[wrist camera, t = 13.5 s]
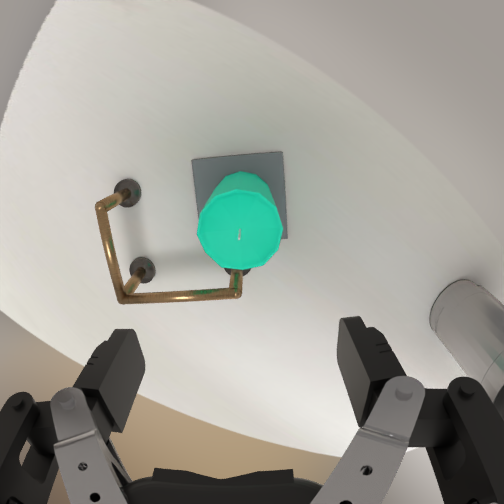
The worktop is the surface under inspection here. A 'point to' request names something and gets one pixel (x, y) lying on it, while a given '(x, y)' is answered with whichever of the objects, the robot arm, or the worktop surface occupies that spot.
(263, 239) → the candle
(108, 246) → the handrail
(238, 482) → the robot arm
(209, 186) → the coaster
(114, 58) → the worktop surface
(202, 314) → the worktop surface
